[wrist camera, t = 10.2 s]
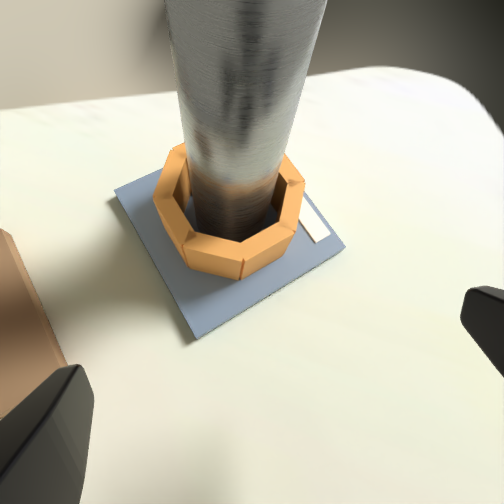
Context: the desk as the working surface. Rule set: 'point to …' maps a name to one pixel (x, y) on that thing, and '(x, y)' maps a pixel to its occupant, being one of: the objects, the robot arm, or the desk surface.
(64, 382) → the robot arm
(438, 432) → the desk surface
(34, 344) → the board
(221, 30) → the steel peg
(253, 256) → the socket plate
